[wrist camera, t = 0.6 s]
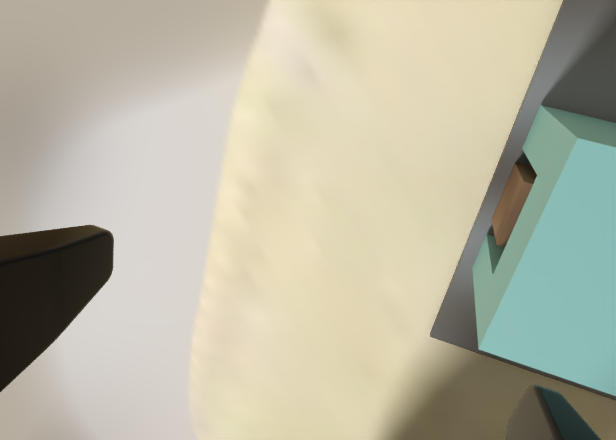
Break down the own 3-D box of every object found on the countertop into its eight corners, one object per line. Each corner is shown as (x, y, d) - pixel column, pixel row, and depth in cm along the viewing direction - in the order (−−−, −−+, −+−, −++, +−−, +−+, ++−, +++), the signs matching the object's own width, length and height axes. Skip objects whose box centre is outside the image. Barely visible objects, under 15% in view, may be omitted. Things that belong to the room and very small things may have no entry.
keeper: (626, 315, 18) (690, 421, 13) (472, 267, 19) (478, 349, 14) (731, 150, 15) (864, 209, 10) (540, 105, 16) (577, 137, 11)
